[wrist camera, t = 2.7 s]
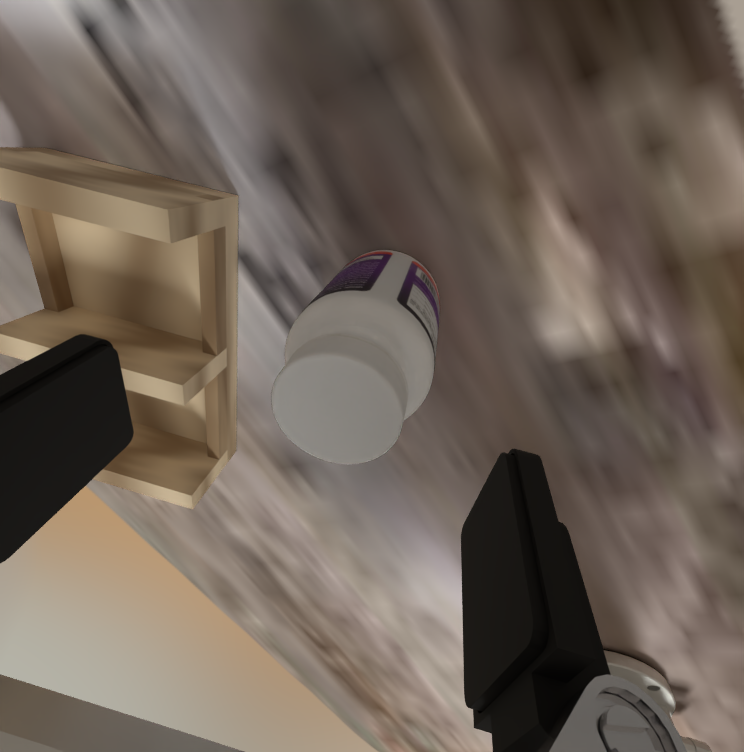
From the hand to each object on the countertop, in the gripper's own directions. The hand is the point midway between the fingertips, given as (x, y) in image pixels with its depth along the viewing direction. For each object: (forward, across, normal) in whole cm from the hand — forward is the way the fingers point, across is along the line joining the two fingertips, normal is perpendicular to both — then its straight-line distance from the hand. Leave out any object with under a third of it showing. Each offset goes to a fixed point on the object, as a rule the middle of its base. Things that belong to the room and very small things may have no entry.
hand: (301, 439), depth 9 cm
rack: (+12, +12, +6) cm, 18 cm away
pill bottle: (+12, -1, +1) cm, 12 cm away
